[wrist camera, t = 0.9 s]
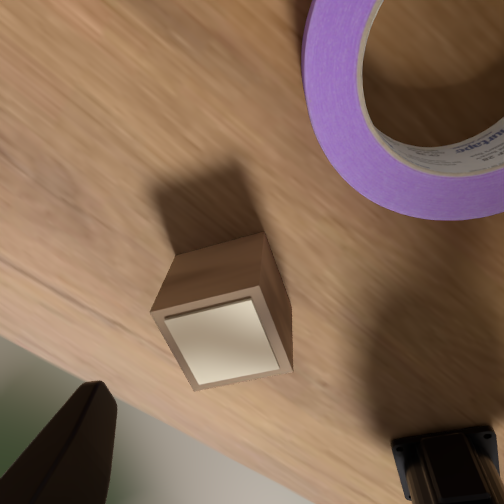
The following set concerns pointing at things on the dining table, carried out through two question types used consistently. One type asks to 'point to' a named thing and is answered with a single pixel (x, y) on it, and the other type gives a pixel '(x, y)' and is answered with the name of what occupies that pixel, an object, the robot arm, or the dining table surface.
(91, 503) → the robot arm
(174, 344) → the walnut block
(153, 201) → the dining table surface
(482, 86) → the dining table surface
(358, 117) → the masking tape
